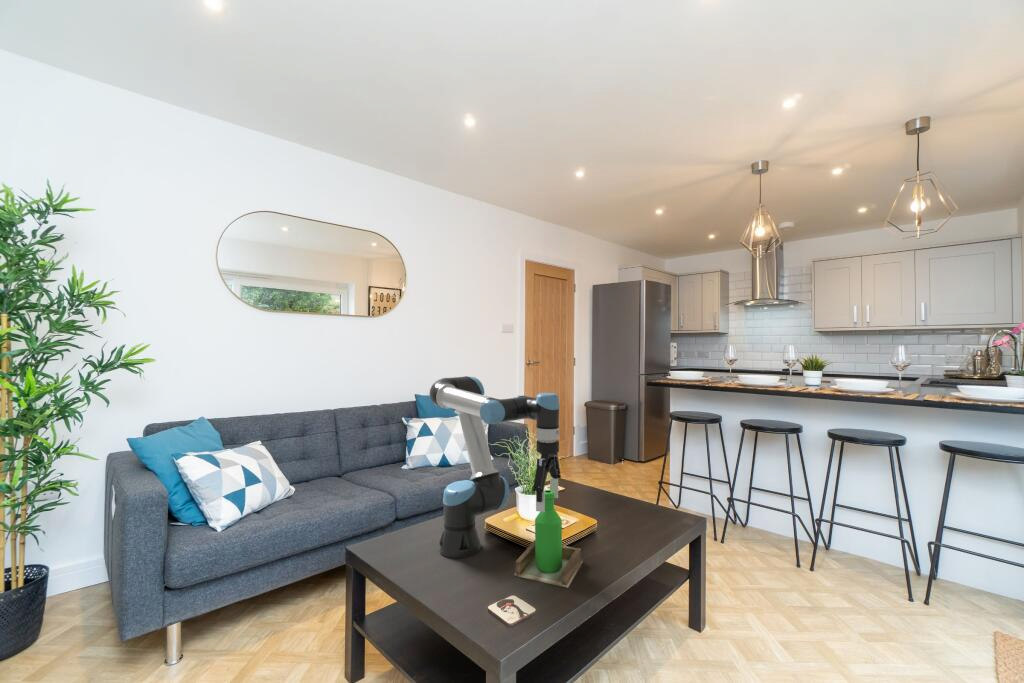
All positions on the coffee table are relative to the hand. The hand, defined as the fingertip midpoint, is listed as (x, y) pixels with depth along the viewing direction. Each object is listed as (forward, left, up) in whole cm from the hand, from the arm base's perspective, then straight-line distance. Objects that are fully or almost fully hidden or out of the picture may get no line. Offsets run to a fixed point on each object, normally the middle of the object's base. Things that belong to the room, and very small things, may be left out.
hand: (547, 504), depth 147 cm
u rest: (0, 0, -22) cm, 22 cm away
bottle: (0, 0, -21) cm, 21 cm away
